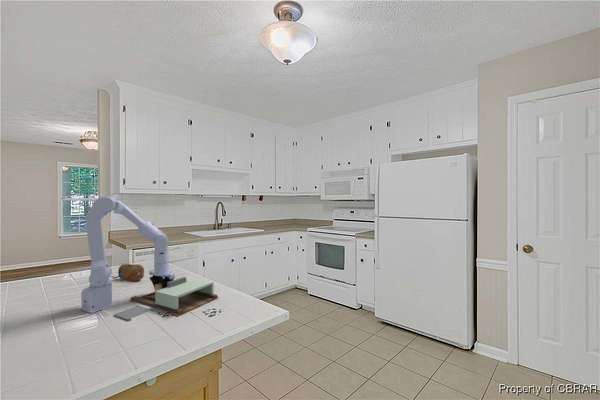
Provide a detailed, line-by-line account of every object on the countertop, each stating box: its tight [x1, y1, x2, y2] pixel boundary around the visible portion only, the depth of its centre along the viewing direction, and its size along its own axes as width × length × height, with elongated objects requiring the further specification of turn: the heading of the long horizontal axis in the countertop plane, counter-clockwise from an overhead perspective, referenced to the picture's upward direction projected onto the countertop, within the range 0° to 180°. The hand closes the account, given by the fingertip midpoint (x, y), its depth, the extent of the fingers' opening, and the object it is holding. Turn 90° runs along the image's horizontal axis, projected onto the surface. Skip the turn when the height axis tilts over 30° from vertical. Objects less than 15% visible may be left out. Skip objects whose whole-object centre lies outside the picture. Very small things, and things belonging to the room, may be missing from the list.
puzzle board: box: [129, 291, 219, 317], centre depth 116 cm, size 20×30×2 cm, turn 62°
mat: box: [113, 305, 152, 322], centre depth 103 cm, size 9×9×1 cm
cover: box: [154, 276, 215, 309], centre depth 113 cm, size 18×12×7 cm, turn 152°
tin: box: [117, 263, 145, 282], centre depth 144 cm, size 15×3×8 cm, turn 73°
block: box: [154, 283, 162, 292], centre depth 120 cm, size 4×4×5 cm
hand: (162, 293), depth 120 cm, fingers open, 5 cm apart
